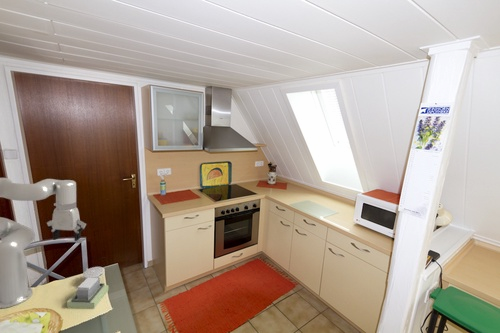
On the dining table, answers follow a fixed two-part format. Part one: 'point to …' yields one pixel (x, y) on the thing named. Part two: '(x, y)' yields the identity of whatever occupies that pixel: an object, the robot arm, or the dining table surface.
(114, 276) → the dining table surface
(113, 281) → the dining table surface
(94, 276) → the showerhead
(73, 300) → the shallow green tray
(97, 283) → the grey small block
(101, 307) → the dining table surface
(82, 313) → the dining table surface
